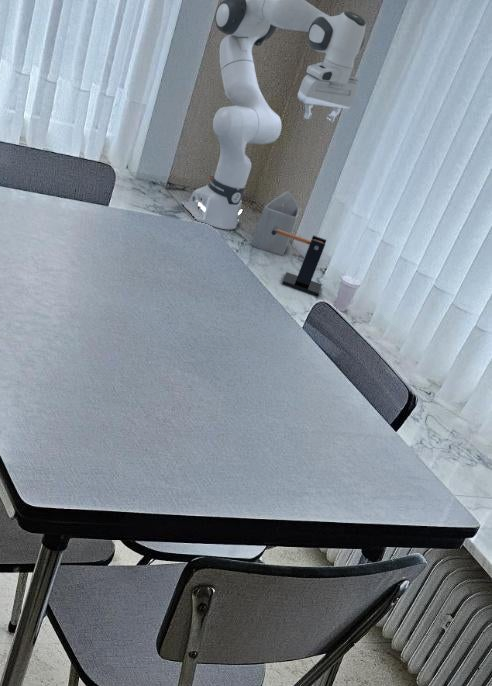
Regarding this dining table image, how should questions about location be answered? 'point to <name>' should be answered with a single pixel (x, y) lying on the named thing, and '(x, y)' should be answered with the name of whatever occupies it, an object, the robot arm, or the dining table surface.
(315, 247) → the bracket
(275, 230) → the lever
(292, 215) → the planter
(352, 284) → the smoothie
